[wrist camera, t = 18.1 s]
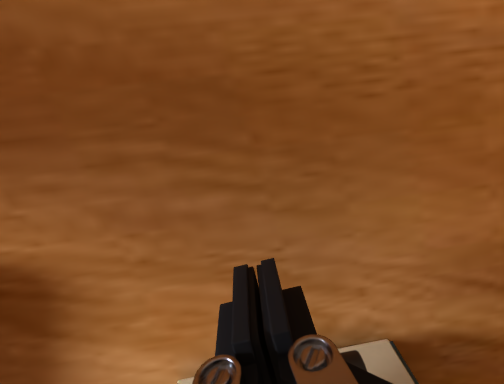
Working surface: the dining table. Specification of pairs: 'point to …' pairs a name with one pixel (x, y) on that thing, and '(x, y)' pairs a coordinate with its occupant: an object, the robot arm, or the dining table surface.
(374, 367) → the drawer
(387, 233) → the dining table surface
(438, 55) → the dining table surface
